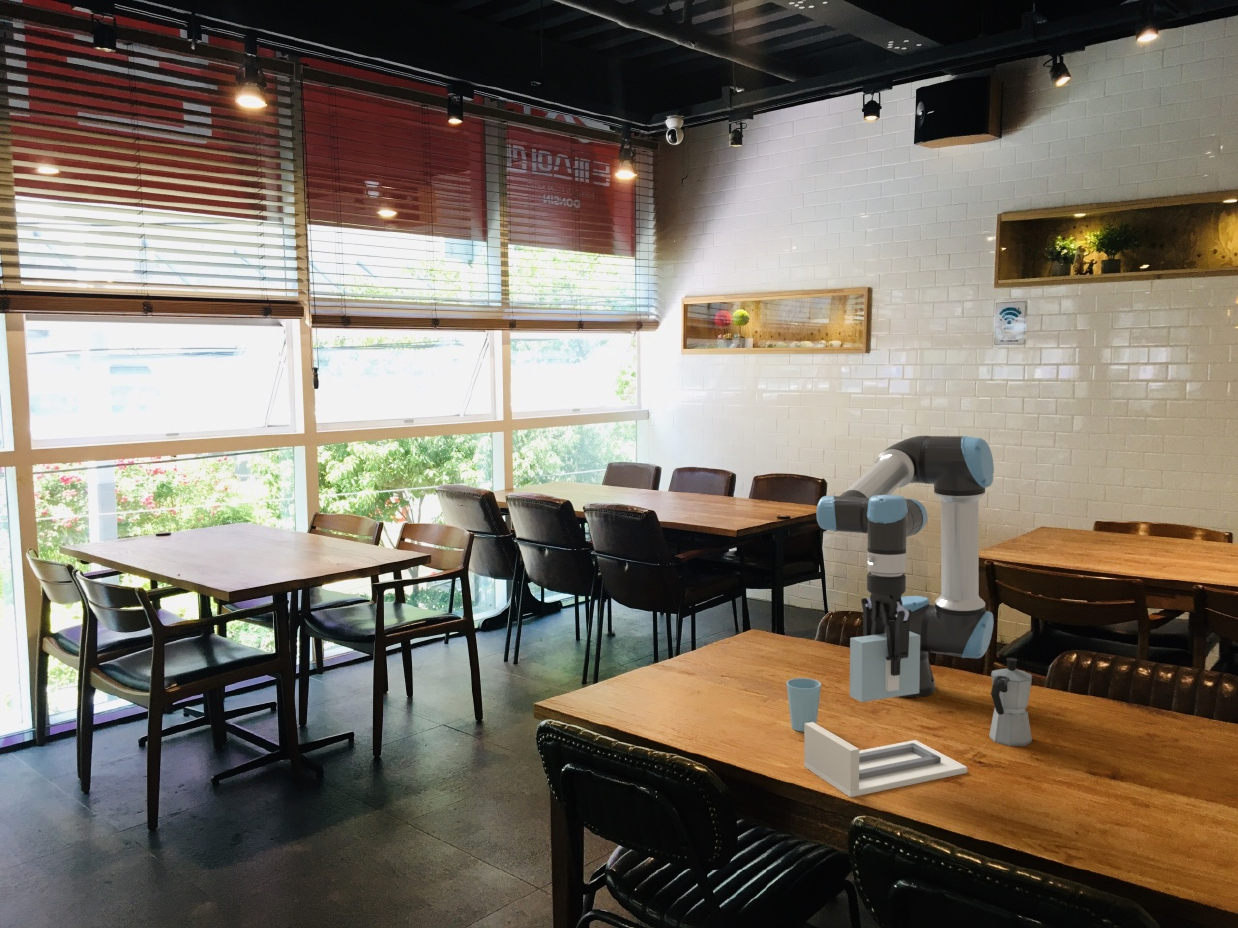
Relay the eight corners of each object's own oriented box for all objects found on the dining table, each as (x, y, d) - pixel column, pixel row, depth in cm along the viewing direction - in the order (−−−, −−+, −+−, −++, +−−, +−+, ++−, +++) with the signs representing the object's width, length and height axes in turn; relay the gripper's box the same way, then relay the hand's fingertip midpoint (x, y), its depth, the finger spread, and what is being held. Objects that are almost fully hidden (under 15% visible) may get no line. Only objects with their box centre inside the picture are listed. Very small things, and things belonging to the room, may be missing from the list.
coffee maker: (1003, 726, 225) (1005, 648, 223) (1042, 736, 219) (1044, 656, 217) (972, 744, 215) (974, 663, 213) (1012, 755, 208) (1014, 671, 207)
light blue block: (906, 687, 206) (907, 630, 205) (919, 692, 202) (920, 635, 201) (849, 696, 200) (850, 637, 199) (861, 702, 197) (862, 642, 196)
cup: (828, 730, 224) (827, 685, 223) (799, 735, 221) (799, 690, 220) (808, 719, 231) (808, 676, 230) (780, 725, 228) (780, 680, 227)
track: (915, 745, 215) (915, 703, 214) (967, 772, 200) (967, 728, 199) (804, 766, 204) (804, 723, 204) (850, 797, 190) (850, 750, 189)
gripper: (845, 566, 205) (844, 677, 208) (897, 582, 190) (896, 701, 192) (875, 563, 208) (874, 672, 210) (929, 579, 192) (927, 696, 195)
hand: (884, 686), depth 201 cm, fingers closed on light blue block, 4 cm apart
